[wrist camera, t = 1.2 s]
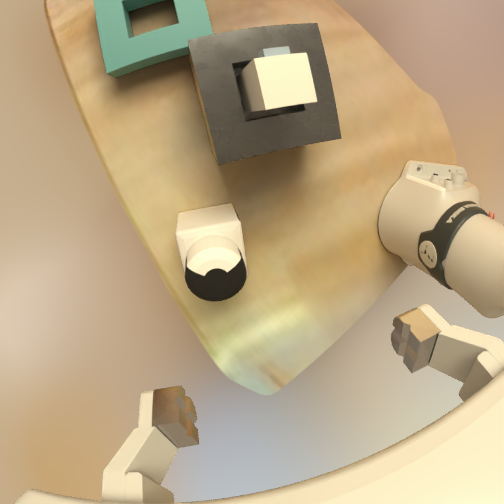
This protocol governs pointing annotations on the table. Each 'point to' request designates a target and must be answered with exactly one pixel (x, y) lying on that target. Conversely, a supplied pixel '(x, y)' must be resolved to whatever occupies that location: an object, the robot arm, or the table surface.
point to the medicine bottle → (212, 251)
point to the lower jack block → (146, 34)
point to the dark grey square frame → (265, 121)
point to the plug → (276, 80)
